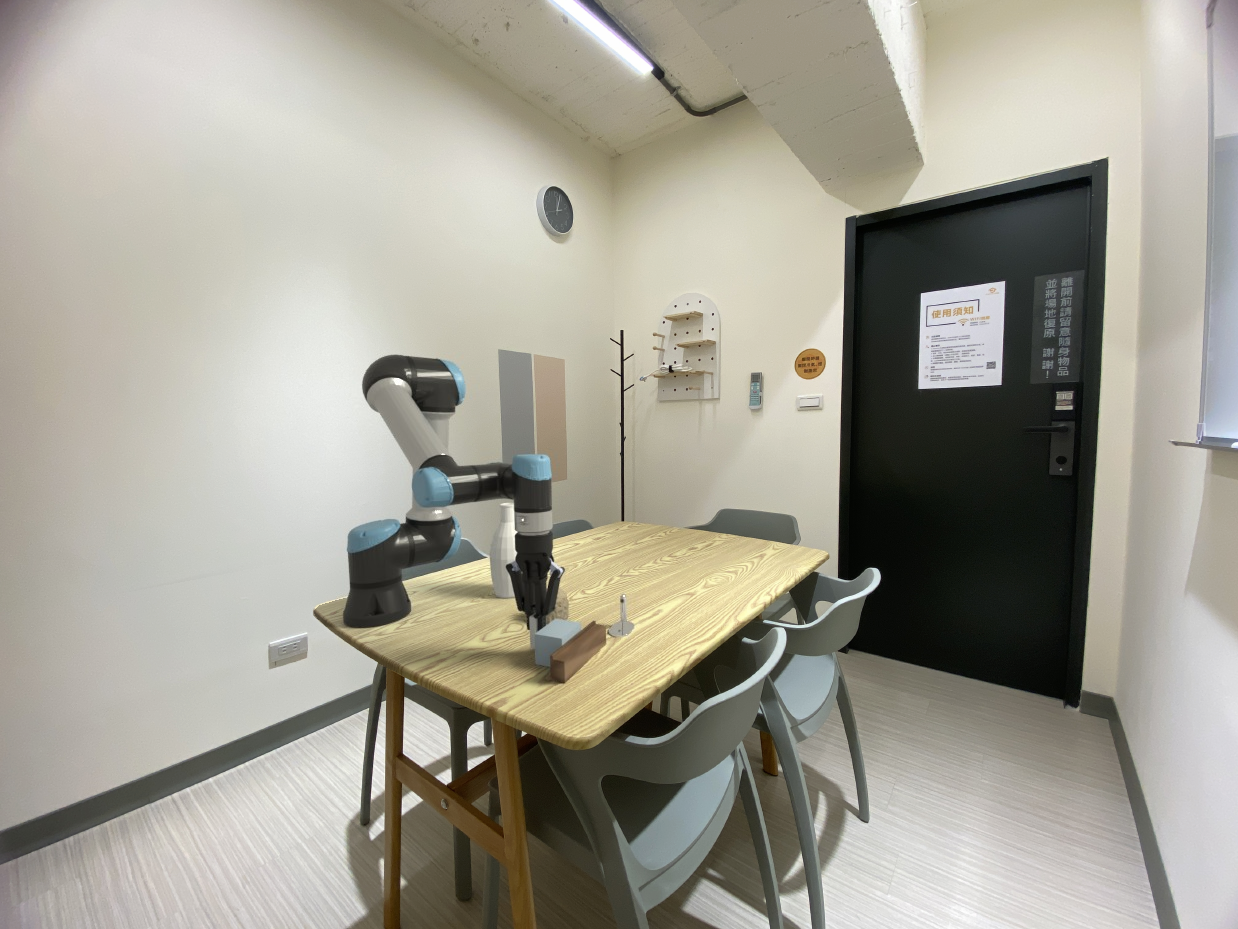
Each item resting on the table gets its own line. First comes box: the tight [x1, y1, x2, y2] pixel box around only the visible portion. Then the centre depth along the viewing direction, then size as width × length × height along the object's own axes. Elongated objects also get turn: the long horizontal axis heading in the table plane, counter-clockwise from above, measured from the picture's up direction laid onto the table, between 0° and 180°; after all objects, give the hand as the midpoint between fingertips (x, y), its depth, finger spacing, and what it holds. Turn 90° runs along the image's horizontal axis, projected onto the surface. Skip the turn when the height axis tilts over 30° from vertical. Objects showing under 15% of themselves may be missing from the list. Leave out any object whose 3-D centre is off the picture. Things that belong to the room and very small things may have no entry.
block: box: [534, 619, 582, 668], centre depth 93 cm, size 6×8×6 cm
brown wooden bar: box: [549, 620, 607, 684], centre depth 92 cm, size 3×17×5 cm, turn 156°
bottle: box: [489, 502, 517, 599], centre depth 132 cm, size 11×11×25 cm
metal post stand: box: [608, 593, 635, 638], centre depth 106 cm, size 8×5×8 cm
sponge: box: [546, 588, 570, 625], centre depth 114 cm, size 9×10×10 cm
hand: (537, 645), depth 96 cm, fingers closed
